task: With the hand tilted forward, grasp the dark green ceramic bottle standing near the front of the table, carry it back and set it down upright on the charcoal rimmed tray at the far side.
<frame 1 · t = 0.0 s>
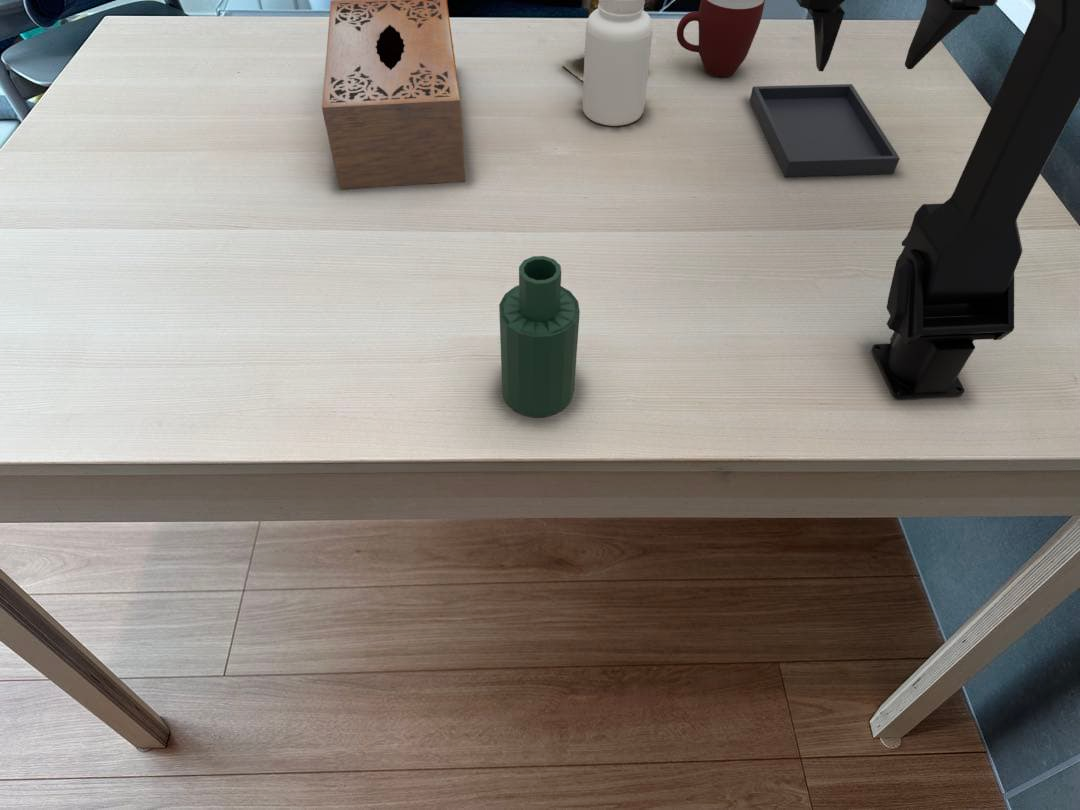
hand: (863, 68, 80), 15 cm above the table, tool pointing down, fingers open, 9 cm apart
condiment: (601, 70, 110), on the table
mug: (710, 71, 110), on the table
tray: (817, 135, 99), on the table
pill bottle: (612, 112, 102), on the table
bottle: (537, 389, 71), on the table
tissue box cover: (400, 126, 100), on the table
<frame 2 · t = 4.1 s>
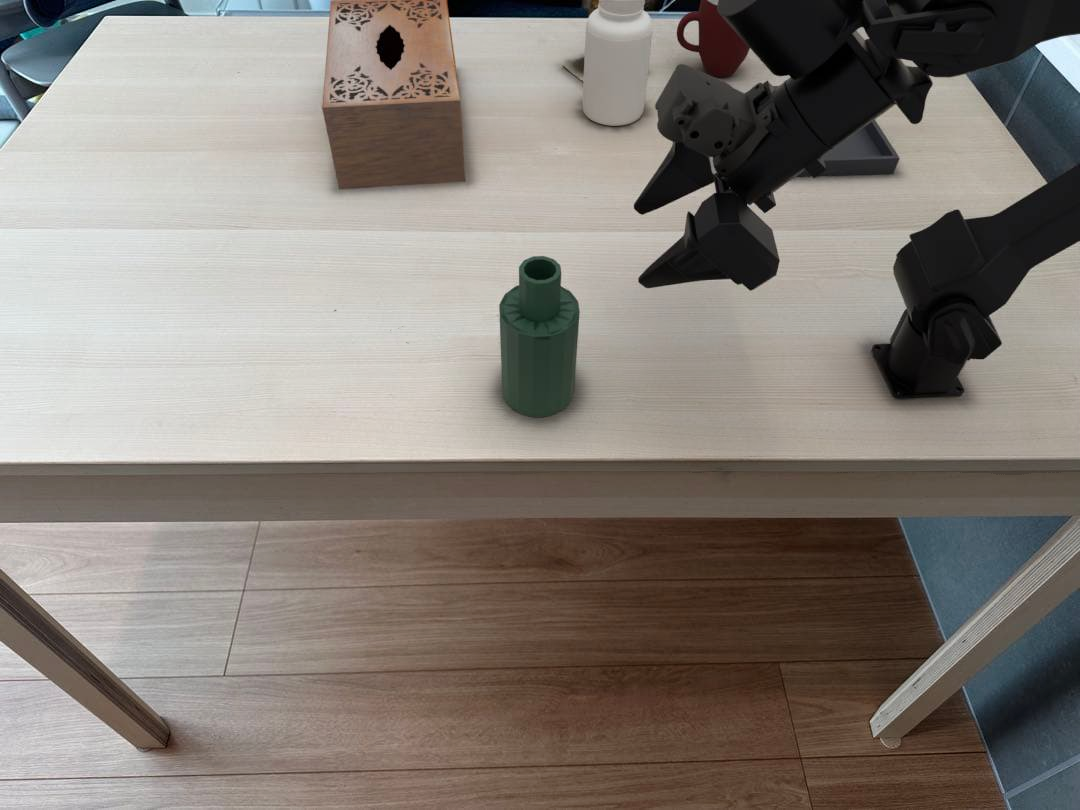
hand: (639, 245, 63), 14 cm above the table, tool tilted 40°, fingers open, 9 cm apart
nothing on the table moved.
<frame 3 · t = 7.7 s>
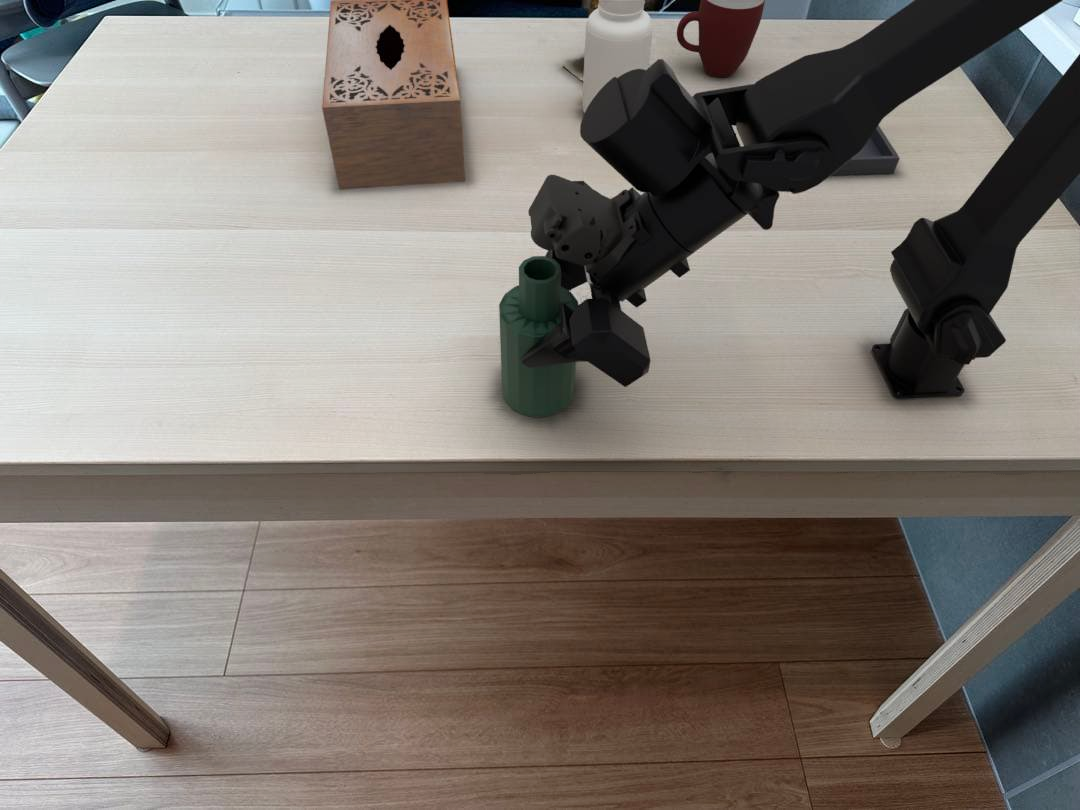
hand: (522, 334, 66), 7 cm above the table, tool tilted 45°, fingers closed on bottle, 6 cm apart
bottle: (537, 389, 71), on the table, touching gripper
everything else where it was.
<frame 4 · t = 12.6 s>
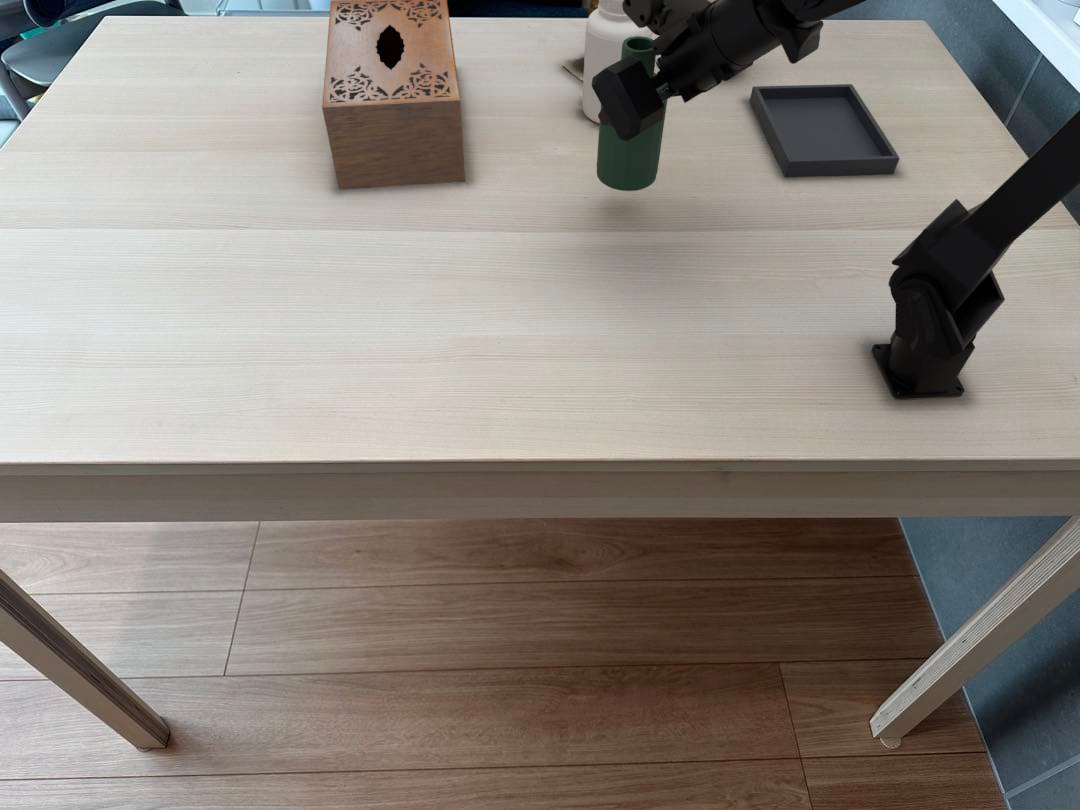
hand: (622, 107, 80), 12 cm above the table, tool tilted 45°, fingers closed on bottle, 6 cm apart
bottle: (626, 173, 85), point 5 cm above the table, touching gripper
everything else where it was.
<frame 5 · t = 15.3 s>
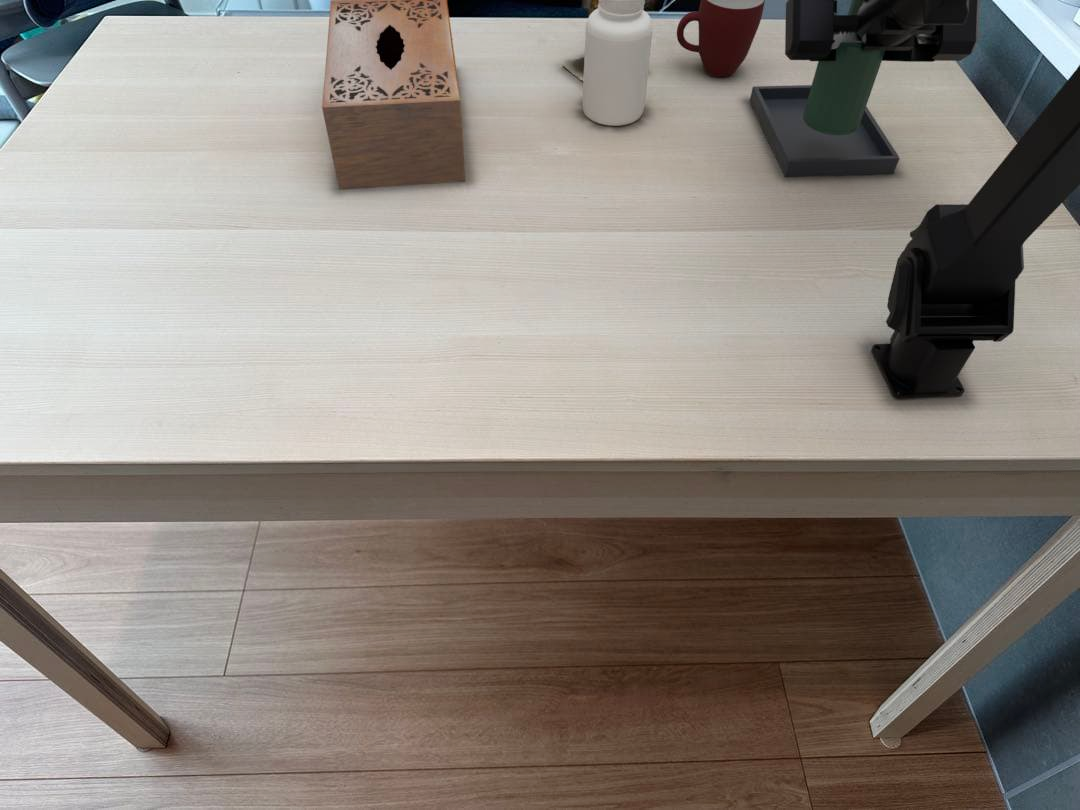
hand: (846, 55, 88), 12 cm above the table, tool tilted 45°, fingers closed on bottle, 6 cm apart
bottle: (830, 120, 93), point 5 cm above the table, touching gripper
everything else where it was.
when the fingers open (8 cm above the table, at t = 17.6 s): bottle stays where it is, resting on tray.
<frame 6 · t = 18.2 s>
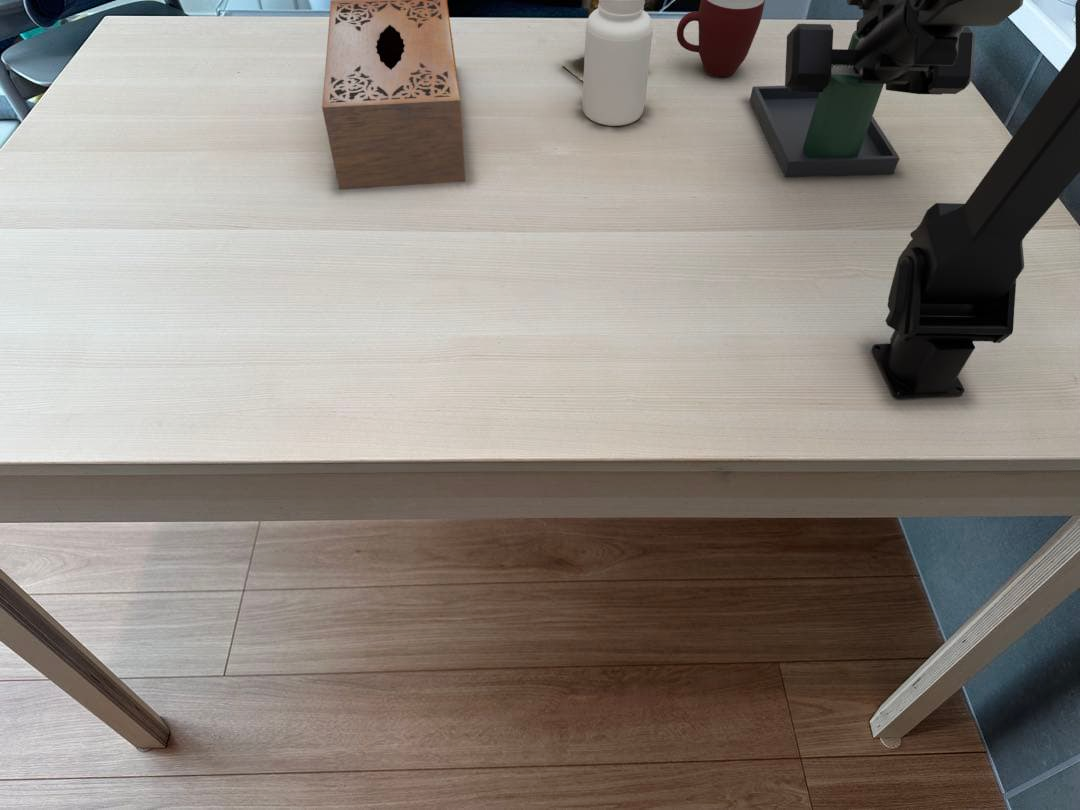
hand: (847, 84, 91), 8 cm above the table, tool tilted 45°, fingers open, 9 cm apart
bottle: (830, 151, 96), point 1 cm above the table, touching tray
everything else where it was.
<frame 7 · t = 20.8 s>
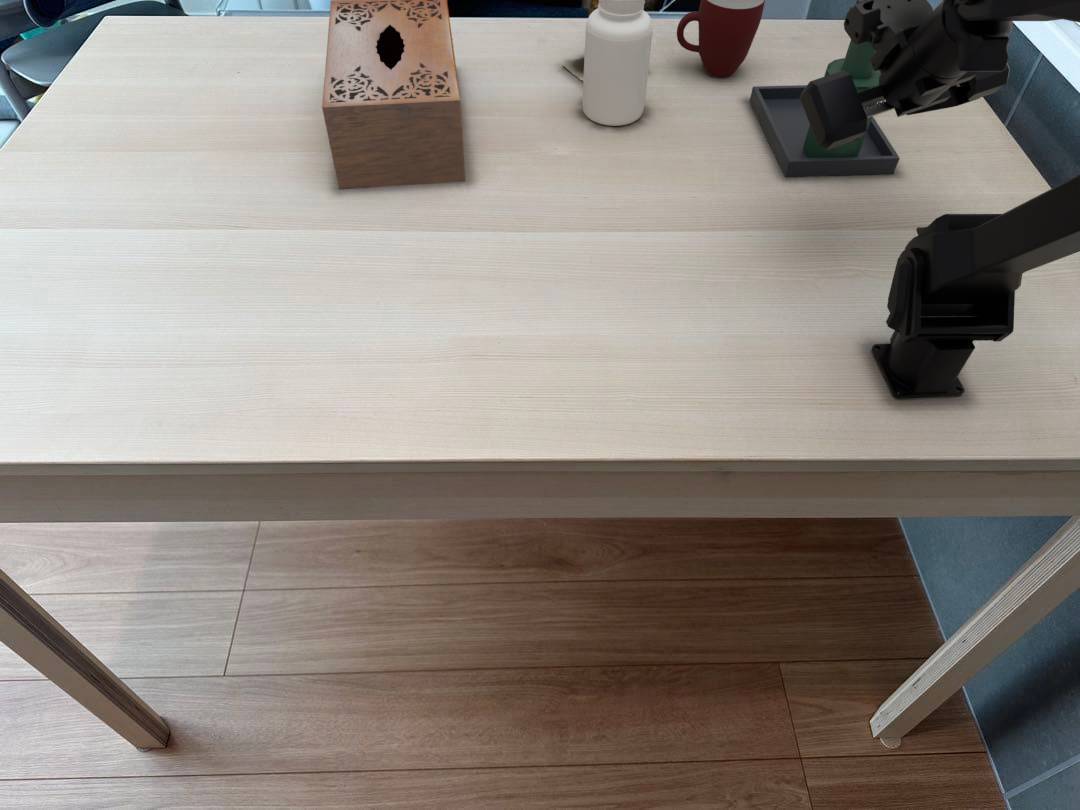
hand: (865, 124, 83), 10 cm above the table, tool tilted 35°, fingers open, 9 cm apart
nothing on the table moved.
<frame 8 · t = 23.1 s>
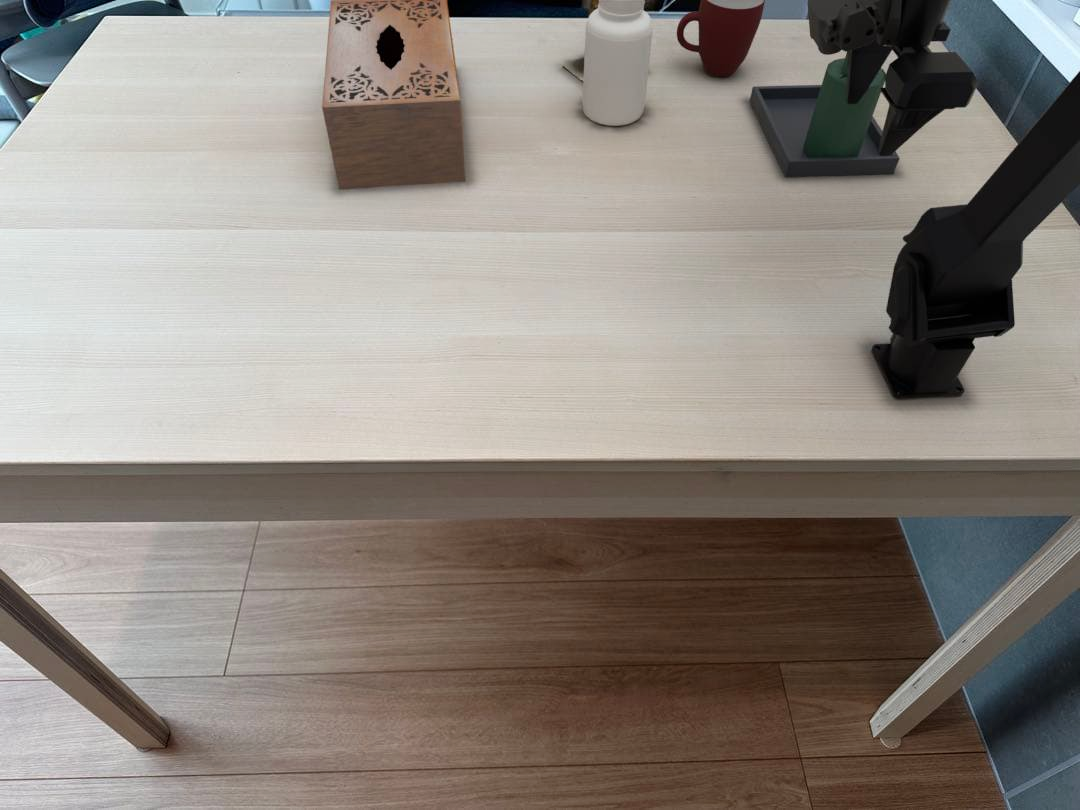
hand: (867, 128, 76), 13 cm above the table, tool pointing down, fingers open, 9 cm apart
nothing on the table moved.
at the end: bottle inside the target area in the tray (4.5 cm from its centre), point 0.6 cm above the tray's base; bottle tilted 0°; the gripper is holding nothing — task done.
